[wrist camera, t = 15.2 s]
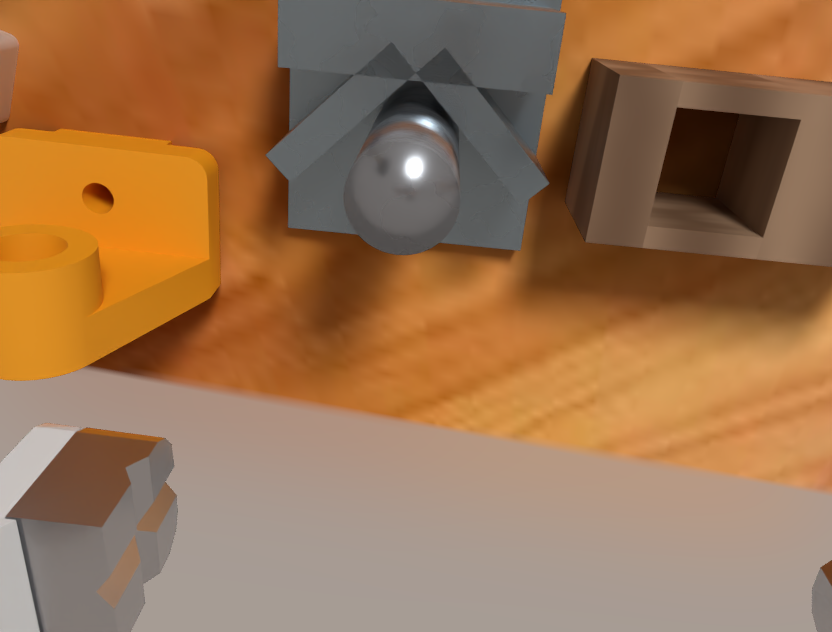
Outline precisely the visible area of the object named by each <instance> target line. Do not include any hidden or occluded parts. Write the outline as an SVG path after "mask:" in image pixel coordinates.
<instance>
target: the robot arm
mask: <svg viewBox="0 0 832 632" xmlns="http://www.w3.org/2000/svg"><path fill="white" fill-rule="evenodd" d="M173 467H174V460H173V453H172V444H171V443H170V442H169V441H168V440H167V439H166V438H161V437H153V436H146V435H138V434H131V433H123V432H115V431H108V430H101V429H93V428H81V427H75V426H67V425H59V424H51V423H50V424H49V423H44V424H41V425H38V426H35V427H34V428H32V430H31V431H30V432H29V433H28V434H27V435H26V436H25V437H24V438H23V439H22V440H21V441H20V442H19V443H18V444H17V445H16V446H15V448H13V450H12V451H11V452H10V453H9V454H8V455H7V456H6V457H5V458H4V459H3V460H2V461H1V462H0V632H131V630H132V628H133V626H134V624H135V622H136V620H137V618H138V616H139V614H140V612H141V610H142V608H143V606H144V604H145V597H144V589H143V584H144V583H146V582H147V581H148V580H150V579H152V578H153V577H155V576H156V575H158V574H159V573H160V572H161V570H162V568H163V566H164V564H165V562H166V560H167V558H168V556H169V554H170V550H171V546H172V543H173V539H174V535H175V532H176V525H177V513H178V508H177V495H176V494H175V493H174V492H173V490H172V489H171V488H170V487H169V486H168V485H167V483H166V482H165V481H166V480H167V478H168V476H169V474H170V473H171V471H172V469H173ZM812 614H813V617H814V621H815V625H816V629H817V631H818V632H832V560H831V561H830V562H828V563H827V564H825V565H824V566H822V567H821V568H820V570H819V573H818V575H817V578H816V580H815V583H814V585H813V588H812Z"/></svg>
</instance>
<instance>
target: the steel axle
mask: <svg viewBox="0 0 832 632" xmlns="http://www.w3.org/2000/svg"><path fill="white" fill-rule="evenodd" d="M343 200H344V208H345V212H346V215H347V218H348V220H349V222H350V224H351V226H352V227H353V229H354V230H355V232H356V233H357V234H358V235H359V236H360V237H361V238H362V239H363V240H364V241H365V242H366V243H368V244H369V245H371V246H372V247H374V248H376V249H378V250H380V251H383V252H386V253H390V254H396V255H411V254H416V253H420V252H423V251H426V250H428V249H430V248H432V247H434V246H435V245H437V244H438V243H439V242H441V241H442V240H443V239H444V238H445V237H446V236H447V235H448V234H449V232H450V231H451V229H452V228H453V226H454V224H455V222H456V219H457V216H458V213H459V208H460V160H459V127H458V126H457V124H456V123H455V122H454V121H453V119H452V118H451V117H450V116H449V114H448V113H447V112H446V110H445V109H444V108H443V107H442V105H441V104H440V103H439V102H438V100H437V99H436V98H435V97H434V95H433V94H432V93H431V91H430V90H426V89H419V88H415V89H408V90H404V91H401V92H399V93H397V94H395V95H394V96H393V97H391V98H390V99H389V100H388V101H387V102H386V103H385V104H384V106H383V107H382V109H381V111H380V112H379V114H378V116H377V118H376V120H375V122H374V124H373V126H372V128H371V130H370V132H369V134H368V136H367V138H366V140H365V142H364V144H363V146H362V148H361V150H360V152H359V154H358V156H357V158H356V160H355V162H354V164H353V166H352V168H351V170H350V172H349V174H348V176H347V179H346V182H345V186H344V193H343Z"/></svg>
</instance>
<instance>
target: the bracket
mask: <svg viewBox="0 0 832 632" xmlns="http://www.w3.org/2000/svg"><path fill="white" fill-rule="evenodd" d="M107 188H108V189H109V190H110V192H111V193H112V194H111V193H110V192H109V190H108V189H107ZM220 284H221V273H220V220H219V170H218V165H217V162H216V160H215V159H214V157H213V156H212V155H211V154H210V153H209V152H207V151H205V150H203V149H200V148H193V147H184V146H175V145H172V141H166V140H157V139H148V138H139V137H130V136H121V135H112V134H103V133H95V132H86V131H77V130H68V129H59V130H57V131H54V132H51V131H42V130H33V129H24V128H16V129H13V130H10V131H7V132H5V133H2V134H0V379H3V380H15V381H25V380H38V379H46V378H51V377H56V376H61V375H64V374H68V373H71V372H74V371H76V370H79V369H81V368H83V367H85V366H87V365H89V364H91V363H93V362H95V361H97V360H98V359H100V358H102V357H104V356H106V355H108V354H109V353H111V352H113V351H115V350H117V349H118V348H120V347H122V346H124V345H126V344H128V343H129V342H131V341H133V340H135V339H137V338H139V337H140V336H142V335H144V334H146V333H148V332H149V331H151V330H153V329H155V328H157V327H159V326H160V325H162V324H164V323H166V322H168V321H170V320H171V319H173V318H175V317H177V316H179V315H180V314H182V313H184V312H186V311H188V310H190V309H191V308H193V307H195V306H197V305H199V304H200V303H202V302H204V301H206V300H208V299H210V298H211V297H212V295H213V294H214V292H215V291H216V290H217V288H218V287H219V285H220Z"/></svg>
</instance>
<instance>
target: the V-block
mask: <svg viewBox="0 0 832 632" xmlns="http://www.w3.org/2000/svg"><path fill="white" fill-rule="evenodd" d="M561 2H562V0H278V67H283V68H290V116H289V132H288V133H287V134H286V135H285V136H284V137H283V138H282V139H281V140H280V141H279V142H278V143H277V144H276V145H275V146H274V147H273V148H272V149H271V150H270V151H269V152H268V153H267V154H266V156H267V157H268V159H269V160H270V161H271V162H272V163H273V164H274V165H275V166H276V167H277V168H278V169H279V171H280V172H281V173H282V174H283V175H284V176H285V177H286V178H287V179H288V180H289V195H288V228H298V229H308V230H318V231H328V232H338V233H348V234H357V233H356V232H355V230H354V229H353V227H352V226H351V224H350V222H349V220H348V218H347V215H346V212H345V208H344V200H343V193H344V186H345V182H346V179H347V176H348V174H349V172H350V170H351V168H352V166H353V164H354V162H355V160H356V158H357V156H358V154H359V152H360V150H361V148H362V146H363V144H364V142H365V140H366V138H367V136H368V134H369V132H370V130H371V128H372V126H373V124H374V122H375V120H376V118H377V116H378V114H379V112H380V111H381V109H382V107H383V106H384V104H385V103H386V102H387V101H388V100H389V99H390V98H391V97H393V96H394V95H395V94H397V93H399V92H401V91H404V90H408V89H415V88H419V89H426V90H430V91H431V93H432V94H433V95H434V97H435V98H436V99H437V100H438V102H439V103H440V104H441V105H442V107H443V108H444V109H445V110H446V112H447V113H448V114H449V116H450V117H451V118H452V119H453V121H454V122H455V123H456V124H457V126H458V127H459V160H460V208H459V213H458V216H457V219H456V222H455V224H454V226H453V228H452V229H451V231H450V232H449V234H448V235H447V236H446V237H445V238H444V239H443V240H442V241H441V242H439V243H448V244H458V245H468V246H478V247H488V248H498V249H508V250H518V251H520V249H521V243H522V237H523V231H524V225H525V219H526V213H527V207H528V201H529V199H530V198H531V197H532V196H534V195H535V194H536V193H538V192H539V191H540V190H542V189H543V188H544V187H546V186H547V185H548V184H549V182H548V180H547V177H546V175H545V173H544V171H543V169H542V167H541V165H540V163H539V161H538V159H537V157H536V153H537V147H538V141H539V135H540V129H541V123H542V117H543V111H544V105H545V99H546V94H551V95H552V94H553V88H554V82H555V77H556V71H557V65H558V59H559V53H560V47H561V41H562V35H563V29H564V23H565V18H566V13H564V12H561V11H560V8H561Z"/></svg>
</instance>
